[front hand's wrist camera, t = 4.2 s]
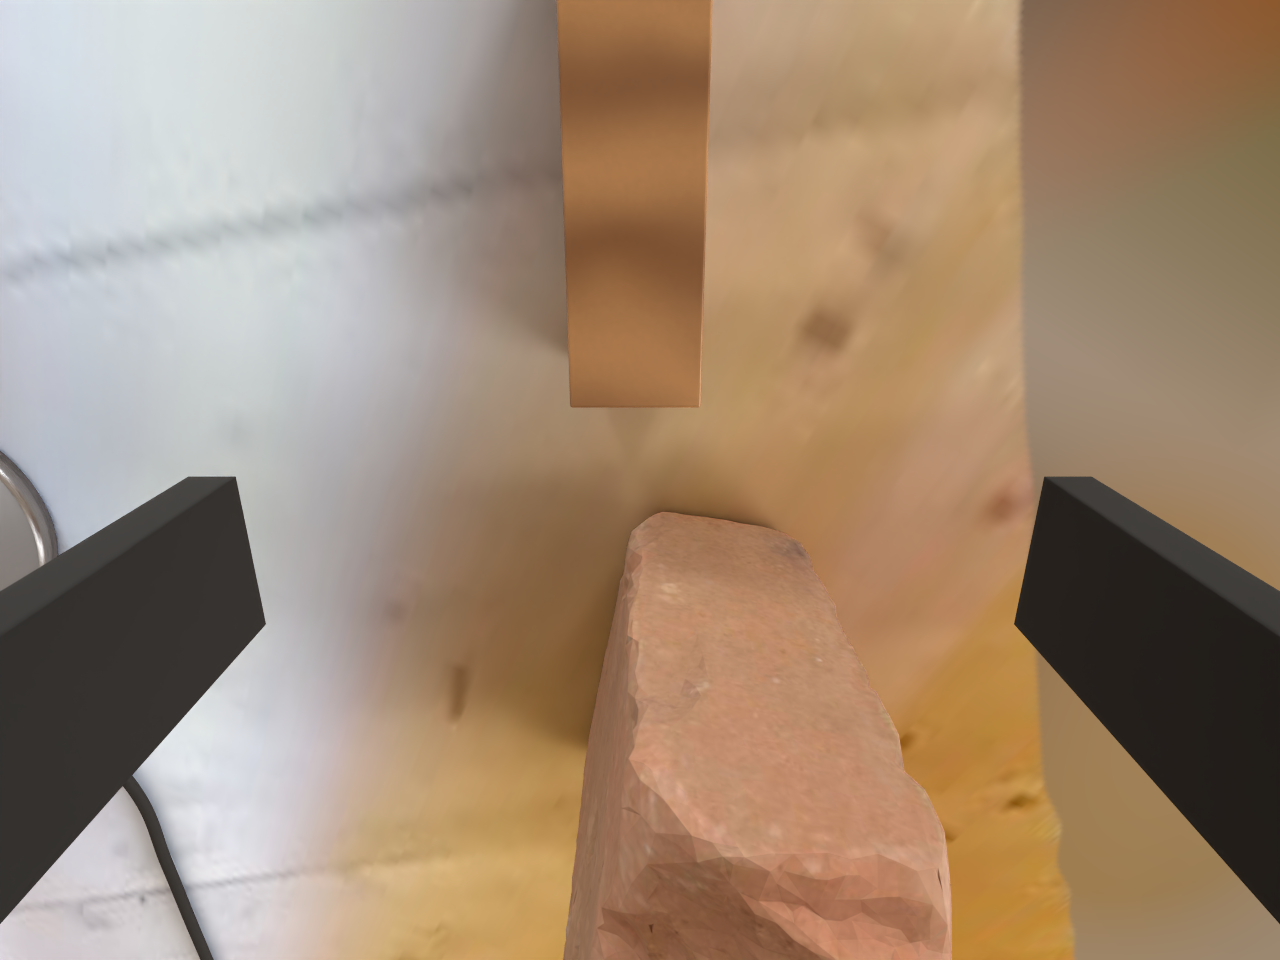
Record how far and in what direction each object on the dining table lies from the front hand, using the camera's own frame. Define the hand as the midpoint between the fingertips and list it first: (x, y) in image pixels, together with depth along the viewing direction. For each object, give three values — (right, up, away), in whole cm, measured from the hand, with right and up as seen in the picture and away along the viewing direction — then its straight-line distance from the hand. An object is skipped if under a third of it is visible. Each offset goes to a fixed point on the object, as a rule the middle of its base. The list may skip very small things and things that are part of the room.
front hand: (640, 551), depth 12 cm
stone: (+3, -10, +39) cm, 40 cm away
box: (0, +19, +28) cm, 33 cm away
